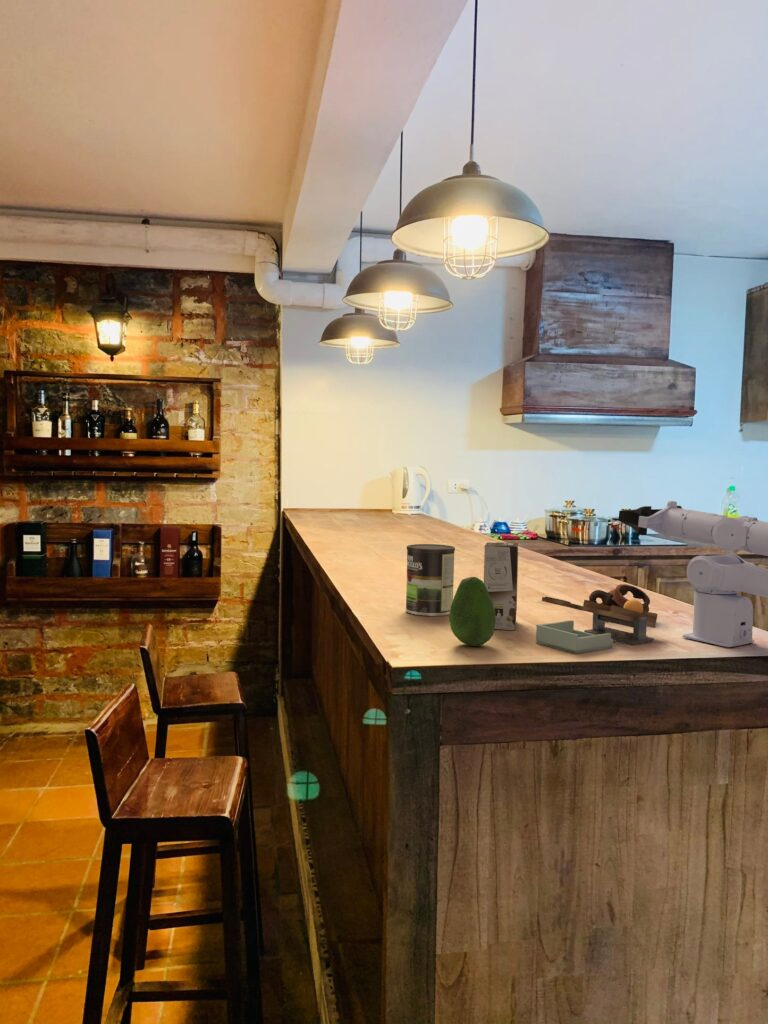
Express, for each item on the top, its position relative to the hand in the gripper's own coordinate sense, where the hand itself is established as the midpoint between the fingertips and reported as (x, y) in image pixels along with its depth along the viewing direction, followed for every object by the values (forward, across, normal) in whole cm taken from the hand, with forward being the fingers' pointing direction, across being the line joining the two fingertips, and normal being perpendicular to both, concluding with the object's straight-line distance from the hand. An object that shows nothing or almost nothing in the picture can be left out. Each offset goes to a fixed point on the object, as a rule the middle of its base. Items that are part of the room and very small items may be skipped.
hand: (632, 515), depth 152 cm
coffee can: (+26, +30, +24) cm, 47 cm away
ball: (-10, +10, +16) cm, 22 cm away
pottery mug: (+1, 0, +22) cm, 22 cm away
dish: (-11, +26, +21) cm, 35 cm away
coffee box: (+8, +26, +23) cm, 35 cm away
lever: (-7, +16, +18) cm, 25 cm away
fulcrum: (-11, +14, +21) cm, 27 cm away
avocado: (-3, +42, +22) cm, 47 cm away
